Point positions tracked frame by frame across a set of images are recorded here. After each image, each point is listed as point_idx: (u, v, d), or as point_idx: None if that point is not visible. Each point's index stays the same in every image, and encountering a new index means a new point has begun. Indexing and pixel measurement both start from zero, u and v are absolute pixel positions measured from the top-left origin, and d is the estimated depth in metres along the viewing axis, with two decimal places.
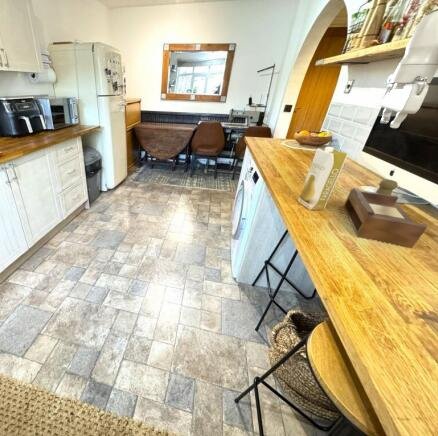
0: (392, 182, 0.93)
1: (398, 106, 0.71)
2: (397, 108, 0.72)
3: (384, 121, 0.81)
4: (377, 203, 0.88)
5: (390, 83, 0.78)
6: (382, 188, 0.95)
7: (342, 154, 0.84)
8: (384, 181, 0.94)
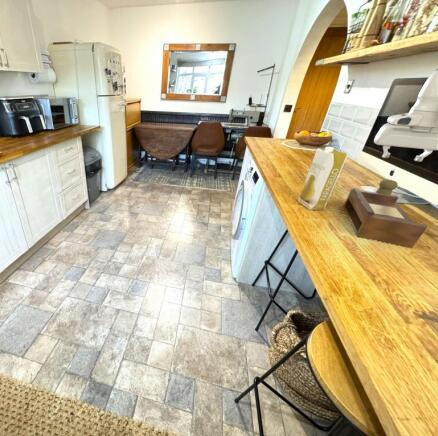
0: (392, 182, 0.93)
1: (436, 146, 0.82)
2: (434, 147, 0.83)
3: None
4: (377, 203, 0.88)
5: (400, 125, 0.83)
6: (382, 188, 0.95)
7: (342, 154, 0.84)
8: (384, 181, 0.94)
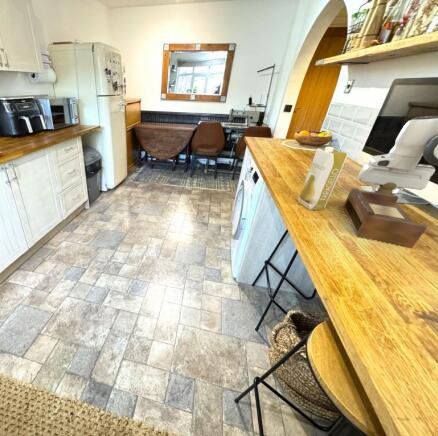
0: None
1: (413, 185, 0.90)
2: (411, 186, 0.91)
3: None
4: (377, 203, 0.88)
5: (380, 166, 0.91)
6: (382, 188, 0.95)
7: (342, 154, 0.84)
8: None
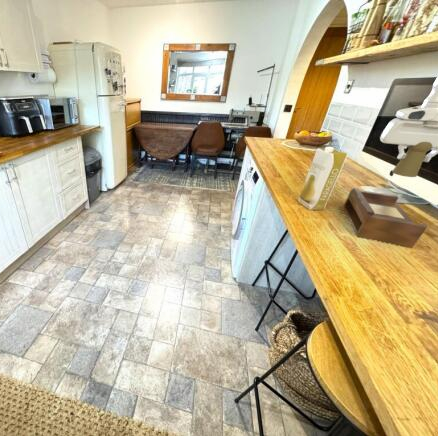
0: None
1: None
2: None
3: None
4: (377, 203, 0.88)
5: (411, 120, 0.71)
6: (412, 150, 0.75)
7: (342, 154, 0.84)
8: None
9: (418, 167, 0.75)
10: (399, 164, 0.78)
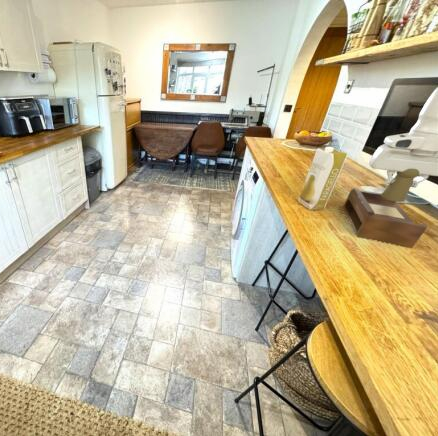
0: None
1: None
2: None
3: None
4: (377, 203, 0.88)
5: (398, 148, 0.72)
6: (400, 176, 0.76)
7: (342, 154, 0.84)
8: None
9: (406, 192, 0.77)
10: (388, 188, 0.79)
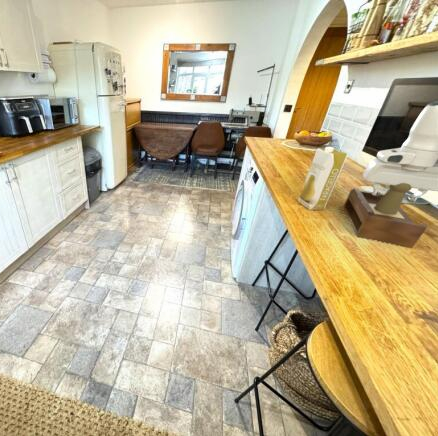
0: (405, 183, 0.76)
1: (431, 186, 0.73)
2: (429, 187, 0.74)
3: None
4: None
5: (390, 163, 0.74)
6: (393, 190, 0.78)
7: (342, 154, 0.84)
8: None
9: (398, 206, 0.79)
10: (381, 201, 0.82)
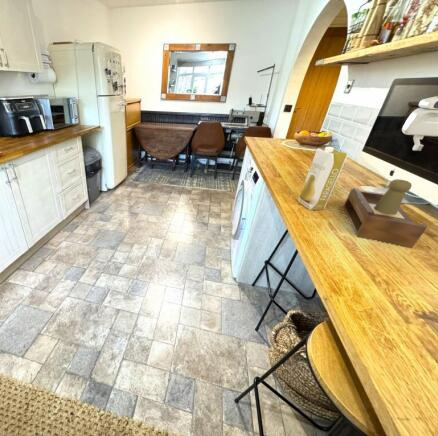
0: (404, 183, 0.76)
1: None
2: None
3: None
4: None
5: (437, 109, 0.67)
6: (392, 190, 0.78)
7: (342, 154, 0.84)
8: (395, 181, 0.77)
9: (398, 206, 0.79)
10: (380, 201, 0.82)
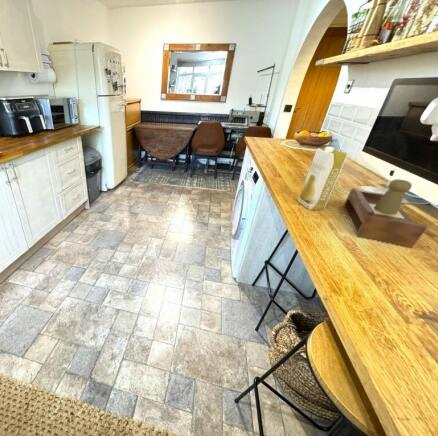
0: (404, 183, 0.76)
1: None
2: None
3: None
4: None
5: None
6: (392, 190, 0.78)
7: (342, 154, 0.84)
8: (395, 181, 0.77)
9: (398, 206, 0.79)
10: (380, 201, 0.82)
